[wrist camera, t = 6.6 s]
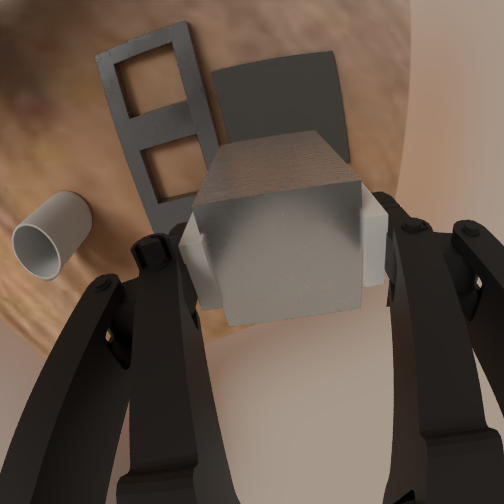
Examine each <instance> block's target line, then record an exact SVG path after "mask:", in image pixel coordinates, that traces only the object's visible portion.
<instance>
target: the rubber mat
mask: <svg viewBox="0 0 504 504" xmlns="http://www.w3.org/2000/svg"><path fill="white" fill-rule="evenodd" d="M211 73H212V77H213V81H214V85H215V89H216V92H217V96H218V100H219V104H220V108H221V112H222V116H223V120H224V124H225V128H226V131H227V135H228V139H229V143H235V142H240V141H246V140H251V139H257V138H263V137H269V136H276V135H282V134H289V133H297V132H304V131H312V130H315V131H316V132H317V133H318V134H319V135H320V136H321V137H322V138H323V139H324V140H325V141H326V142H327V143H328V144H329V145H330V146H331V147H332V149H333V150H334V151H335V152H336V153H337V154H338V155H339V156H340V157H341V158H342V159H343V160H344V161H345V162H350V160H349V151H348V143H347V135H346V127H345V120H344V113H343V107H342V100H341V94H340V88H339V82H338V77H337V71H336V66H335V61H334V56H333V51H329V52H318V53H309V54H301V55H294V56H287V57H280V58H274V59H269V60H263V61H258V62H253V63H248V64H243V65H238V66H234V67H229V68H225V69H221V70H217V71H213V72H211Z"/></svg>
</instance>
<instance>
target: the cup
mask: <svg viewBox="0 0 504 504" xmlns="http://www.w3.org/2000/svg"><path fill="white" fill-rule="evenodd" d="M91 227H92V215H91V212H90V209H89V207H88V205H87V203H86V202H85V201H84V200H83V199H82V198H81V197H80V196H79V195H77V194H75V193H73V192H70V191H61V192H58V193H56V194H54V195H53V196H51V197H50V198H49V199H48V200H47V201H45V202H44V203H43V204H42V205H41V206H39V207H38V208H37V209H36V210H35V211H34V212H32V213H31V214H30V215H29V216H28V217H27V218H26V219H25V220H23V221H22V222H21V223H20V224H19V225H18V226H17V227H16V228H15V230H14V231H13V235H12V246H13V250H14V253H15V255H16V257H17V259H18V261H19V262H20V264H21V265H22V266H23V267H24V268H25V269H26V270H27V271H28V272H29V273H31V274H32V275H34V276H36V277H38V278H42V279H43V280H45V281H51V280H53V279H55V278H56V277H57V276H58V274H59V273H60V272H61V270H62V268H63V267H64V265H65V264H66V263H67V261H68V260H69V259H70V257H71V256H72V255H73V253H74V252H75V251H76V250H77V248H78V247H79V246H80V245H81V243H82V242H83V241H84V240H85V238H86V237H87V236H88V234H89V232H90V230H91Z"/></svg>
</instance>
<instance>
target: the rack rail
mask: <svg viewBox="0 0 504 504" xmlns="http://www.w3.org/2000/svg"><path fill="white" fill-rule="evenodd" d="M170 44H173V48H174V52H175V56H176V59H177V63H178V67H179V70H180V74H181V78H182V82H183V85H184V89H185V93H186V96H187V100H185V101H182V102H179V103H175V104H172V105H169V106H166V107H163V108H159V109H156V110H153V111H150V112H147V113H145V114H142V115H139V116H136V117H133V114H132V111H131V108H130V104H129V101H128V98H127V94H126V91H125V87H124V84H123V80H122V77H121V73H120V69H119V66H118V64H119V63H122V62H124V61H126V60H129V59H131V58H134V57H136V56H139V55H141V54H144V53H147V52H149V51H152V50H155V49H158V48H161V47H164V46H167V45H170ZM95 59H96V63H97V66H98V70H99V74H100V77H101V81H102V84H103V88H104V91H105V95H106V98H107V102H108V105H109V108H110V111H111V115H112V118H113V121H114V124H115V127H116V130H117V133H118V136H119V139H120V142H121V145H122V148H123V151H124V154H125V157H126V160H127V163H128V166H129V168H130V171H131V174H132V177H133V179H134V182H135V185H136V188H137V190H138V193H139V196H140V198H141V201H142V203H143V206H144V209H145V211H146V214H147V216H148V219H149V221H150V224H151V226H152V229H153V231H154V234H156V233H164V234H167V235H168V234H169V232H170V230H171V229H172V228H173V227H175V226H176V225H177V224H178V223H183V222H188V221H189V219H190V216H191V214H192V212H193V210H192V204H193V202H194V200H195V198H196V195H197V193H198V191H195V192H191V193H187V194H182V195H178V196H174V197H170V198H166V199H162V200H161V198H160V195H159V192H158V190H157V187H156V184H155V181H154V178H153V175H152V173H151V170H150V167H149V164H148V161H147V158H146V155H145V152H144V149H146V148H149V147H153V146H156V145H159V144H162V143H166V142H169V141H173V140H176V139H180V138H183V137H187V136H190V135H194V134H197V136H198V139H199V143H200V146H201V150H202V153H203V157H204V160H205V164H206V167H207V171H208V170H209V168H210V166H211V164H212V162H213V160H214V158H215V156H216V154H217V152H218V150H219V148H220V146H221V145H220V141H219V137H218V134H217V130H216V126H215V122H214V118H213V115H212V111H211V107H210V103H209V99H208V96H207V92H206V88H205V84H204V80H203V77H202V73H201V69H200V65H199V61H198V58H197V54H196V50H195V46H194V42H193V38H192V35H191V31H190V27H189V23H188V22H187V21H182V22H179V23H176V24H173V25H170V26H167V27H164V28H161V29H158V30H155V31H153V32H150V33H147V34H145V35H142V36H139V37H137V38H134V39H132V40H129V41H127V42H125V43H122V44H120V45H118V46H115V47H113V48H111V49H109V50H107V51H105V52H102V53H100V54H98V55H96V56H95Z"/></svg>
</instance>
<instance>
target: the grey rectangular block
mask: <svg viewBox="0 0 504 504" xmlns="http://www.w3.org/2000/svg"><path fill="white" fill-rule="evenodd" d="M192 210H193V213H194V217H195V220H196V223H197V227H198V230H199V233H200V237H201V238H203V241H204V244H205V248H206V251H207V254H208V257H209V261H210V264H211V267H212V270H213V273H214V277H215V280H216V283H217V286H218V289H219V292H220V295H221V298H222V301H223V309H224V312H225V315H226V318H227V321H228V324H229V326H238V325H247V324H255V323H264V322H272V321H279V320H287V319H293V318H301V317H307V316H314V315H321V314H327V313H334V312H339V311H346V310H351V309H357V308H361V289H362V255H363V219H362V185H361V179H360V178H359V177H358V176H357V175H356V174H355V172H354V171H353V170H352V169H351V168H350V167H349V166H348V165H347V164H346V162H345V161H344V160H343V159H342V158H341V157H340V156H339V155H338V154H337V153H336V152H335V151H334V150H333V149H332V147H331V146H330V145H329V144H328V143H327V142H326V141H325V140H324V139H323V138H322V137H321V136H320V135H319V134H318V133H317V132H316V131H315V130H312V131H304V132H297V133H289V134H282V135H276V136H269V137H263V138H257V139H251V140H246V141H240V142H235V143H229V144H224V145H221V146H220V148H219V150H218V152H217V154H216V156H215V158H214V160H213V162H212V164H211V166H210V168H209V170H208V172H207V174H206V176H205V178H204V181H203V183H202V185H201V187H200V189H199V191H198V193H197V195H196V198H195V200H194V202H193V204H192Z"/></svg>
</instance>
